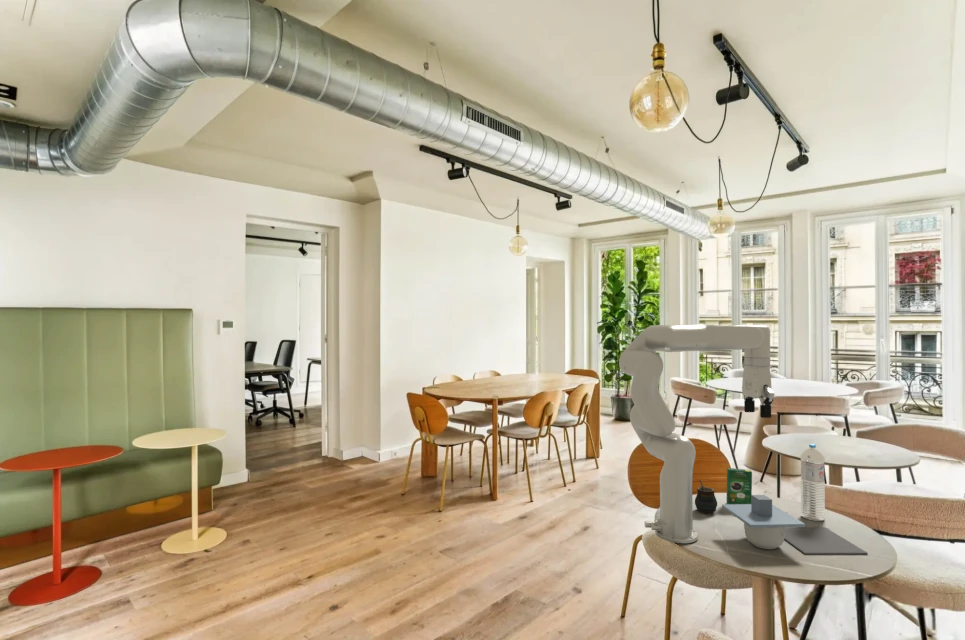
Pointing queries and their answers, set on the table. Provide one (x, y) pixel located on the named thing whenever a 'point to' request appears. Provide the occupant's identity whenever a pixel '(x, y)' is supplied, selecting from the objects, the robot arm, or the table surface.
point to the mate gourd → (705, 500)
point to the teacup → (765, 536)
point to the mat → (820, 541)
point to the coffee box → (739, 486)
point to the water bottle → (812, 485)
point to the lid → (762, 513)
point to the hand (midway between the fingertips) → (757, 414)
